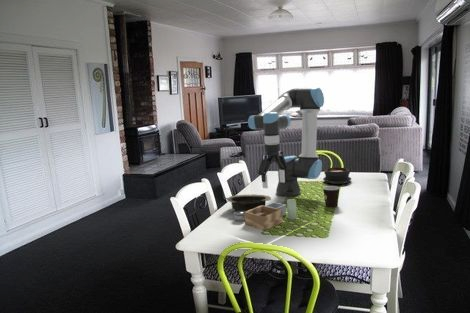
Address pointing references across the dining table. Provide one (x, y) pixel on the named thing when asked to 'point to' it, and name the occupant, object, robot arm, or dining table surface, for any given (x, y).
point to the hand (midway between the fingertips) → (273, 185)
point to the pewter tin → (239, 216)
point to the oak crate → (263, 217)
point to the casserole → (337, 175)
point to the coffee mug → (331, 196)
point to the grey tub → (278, 207)
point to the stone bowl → (247, 201)
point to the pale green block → (291, 208)
